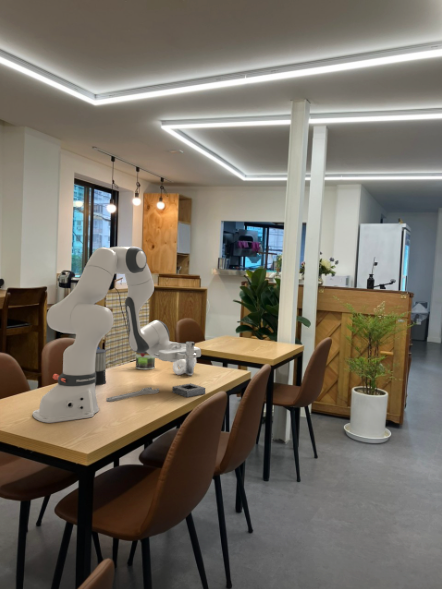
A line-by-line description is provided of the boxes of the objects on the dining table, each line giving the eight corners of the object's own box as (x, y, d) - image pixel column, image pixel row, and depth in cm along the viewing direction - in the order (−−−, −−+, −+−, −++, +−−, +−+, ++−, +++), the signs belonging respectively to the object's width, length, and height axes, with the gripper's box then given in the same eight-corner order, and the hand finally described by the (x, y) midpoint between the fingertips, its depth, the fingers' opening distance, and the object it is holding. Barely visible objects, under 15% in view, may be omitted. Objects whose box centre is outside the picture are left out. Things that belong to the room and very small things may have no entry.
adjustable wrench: (108, 403, 180) (108, 399, 180) (100, 400, 185) (100, 395, 185) (161, 393, 197) (161, 389, 197) (152, 390, 202) (152, 386, 202)
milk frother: (106, 385, 207) (107, 352, 206) (69, 386, 202) (70, 352, 202) (104, 377, 221) (105, 347, 220) (69, 379, 216) (70, 347, 215)
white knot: (198, 376, 229) (199, 358, 228) (174, 377, 226) (175, 359, 226) (194, 371, 240) (195, 354, 239) (171, 372, 237) (172, 355, 237)
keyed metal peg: (189, 374, 194) (190, 343, 194) (182, 372, 198) (183, 341, 197) (196, 373, 197) (197, 342, 196) (188, 371, 200) (189, 341, 200)
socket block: (186, 397, 190) (187, 391, 190) (172, 392, 198) (172, 386, 198) (205, 393, 197) (205, 387, 197) (190, 388, 204) (190, 383, 204)
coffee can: (151, 370, 241) (152, 343, 240) (132, 369, 242) (133, 342, 242) (157, 366, 251) (158, 340, 250) (139, 365, 252) (139, 339, 252)
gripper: (152, 346, 199) (171, 351, 189) (189, 342, 213) (209, 347, 203) (151, 361, 199) (171, 367, 189) (188, 356, 213) (208, 361, 203)
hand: (191, 356), depth 196 cm, fingers closed on keyed metal peg, 3 cm apart
